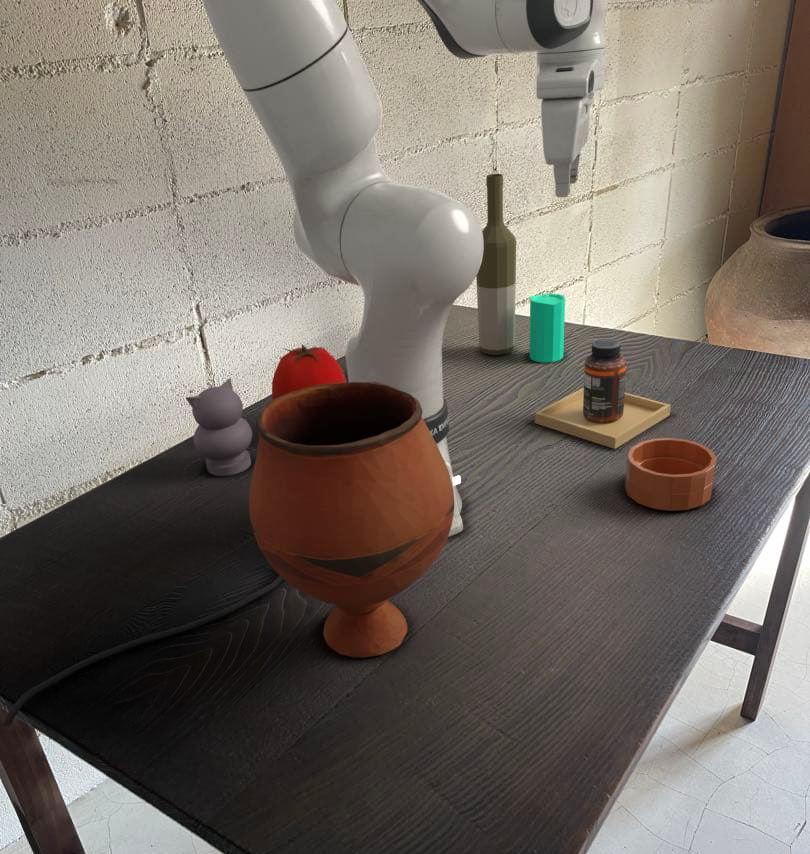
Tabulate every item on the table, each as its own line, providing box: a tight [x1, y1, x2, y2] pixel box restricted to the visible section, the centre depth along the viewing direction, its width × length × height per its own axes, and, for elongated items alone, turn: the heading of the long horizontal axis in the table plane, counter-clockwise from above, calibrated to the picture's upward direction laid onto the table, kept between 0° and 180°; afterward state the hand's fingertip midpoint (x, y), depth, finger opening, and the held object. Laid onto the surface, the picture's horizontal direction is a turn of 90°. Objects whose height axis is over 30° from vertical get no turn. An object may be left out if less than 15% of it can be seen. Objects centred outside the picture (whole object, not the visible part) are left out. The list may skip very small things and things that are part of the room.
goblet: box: [248, 381, 454, 659], centre depth 79 cm, size 19×19×25 cm
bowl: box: [624, 437, 718, 512], centre depth 103 cm, size 10×10×5 cm
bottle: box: [475, 173, 517, 356], centre depth 143 cm, size 7×7×30 cm
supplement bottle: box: [583, 338, 627, 423], centre depth 121 cm, size 6×6×11 cm
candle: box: [529, 288, 566, 363], centre depth 144 cm, size 6×6×12 cm
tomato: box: [271, 343, 346, 401], centre depth 125 cm, size 12×12×13 cm
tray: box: [534, 387, 672, 450], centre depth 123 cm, size 14×14×2 cm
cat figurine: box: [185, 377, 253, 477], centre depth 117 cm, size 9×8×12 cm
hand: (566, 189), depth 115 cm, fingers open, 8 cm apart
